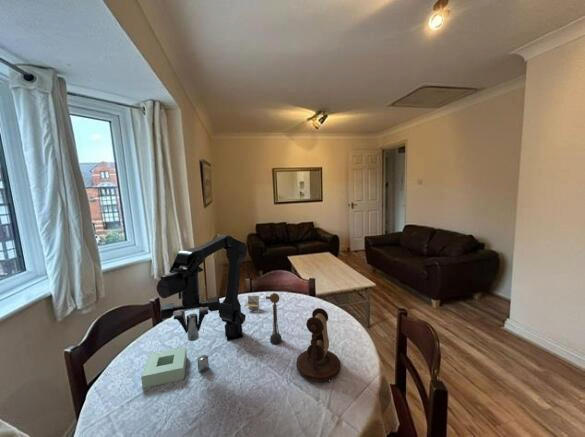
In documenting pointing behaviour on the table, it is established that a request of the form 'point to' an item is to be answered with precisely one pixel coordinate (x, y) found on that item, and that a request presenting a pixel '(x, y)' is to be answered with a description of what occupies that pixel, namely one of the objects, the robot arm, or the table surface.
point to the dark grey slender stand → (275, 320)
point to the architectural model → (253, 302)
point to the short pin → (203, 363)
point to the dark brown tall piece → (318, 351)
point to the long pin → (192, 327)
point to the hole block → (164, 367)
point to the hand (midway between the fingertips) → (192, 331)
